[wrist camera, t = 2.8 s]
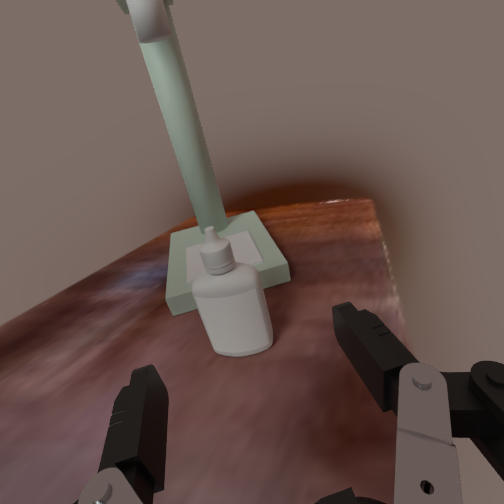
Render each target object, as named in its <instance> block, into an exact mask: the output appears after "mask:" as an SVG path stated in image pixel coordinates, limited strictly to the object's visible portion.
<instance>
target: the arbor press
mask: <svg viewBox="0 0 504 504" xmlns="http://www.w3.org/2000/svg"><path fill="white" fill-rule="evenodd" d="M116 1H117V2H118V4H119V6H120V7H121V9H122V10H123V12H124V13H125V14H130V17H131V19H132V23H133V26H134V29H135V32H136V35H137V38H138V41H139V44H140V47H141V50H142V53H143V56H144V59H145V63H146V65H147V69H148V72H149V75H150V78H151V81H152V84H153V87H154V90H155V92H156V96H157V99H158V102H159V105H160V108H161V111H162V115H163V117H164V121H165V124H166V127H167V129H168V133H169V136H170V139H171V142H172V145H173V148H174V151H175V154H176V157H177V160H178V163H179V166H180V169H181V172H182V176H183V179H184V182H185V185H186V188H187V191H188V194H189V197H190V200H191V203H192V206H193V209H194V212H195V215H196V218H197V222H198V225H199V226H196V227H193V228H189V229H185V230H182V231H178V232H175V233H171V240H170V252H169V263H168V274H167V286H166V297H165V300H166V302H167V304H168V306H169V308H170V311H171V313H172V315H173V316H176V315H179V314H182V313H186V312H189V311H192V310H196V309H198V308H197V306H196V303H195V300H194V297H193V294H192V284H193V281H194V279H195V277H196V276H197V274H198V273H200V272H201V271H203V270H205V267H204V264H203V261H202V258H201V255H200V252H199V247H200V246H201V244H202V243H204V242H205V231H204V229H205V228H207V227H209V226H213V227H214V229H215V231H216V233H217V234H218V236H219V237H224V238H227V239H228V240H229V241H230V244H231V248H232V251H233V255H234V258H235V262H240V263H245V264H248V265H251V266H253V267H255V268H256V269H257V270H258V272H259V275H260V278H261V282H262V286H263V289H265V288H268V287H272V286H275V285H278V284H282V283H285V282H288V281H291V278H290V272H289V266H288V262H287V261H286V259H285V258H284V256H283V255H282V253H281V252H280V250H279V248H278V247H277V245H276V244H275V242H274V241H273V239H272V238H271V236H270V235H269V233H268V232H267V230H266V229H265V227H264V225H263V224H262V222H261V221H260V219H259V218H258V216H257V215H256V213H255V212H254V211H250V212H247V213H243V214H240V215H236V216H232V217H229V218H226V215H225V211H224V207H223V204H222V200H221V196H220V193H219V189H218V185H217V182H216V178H215V174H214V171H213V167H212V164H211V160H210V156H209V153H208V149H207V145H206V141H205V138H204V134H203V130H202V126H201V123H200V120H199V116H198V112H197V108H196V105H195V101H194V97H193V93H192V90H191V86H190V82H189V79H188V75H187V71H186V68H185V64H184V60H183V56H182V53H181V49H180V45H179V42H178V38H177V34H176V31H175V27H174V23H173V19H172V16H171V12H170V8H169V5H173V0H116Z"/></svg>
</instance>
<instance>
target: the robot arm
mask: <svg viewBox="0 0 504 504" xmlns="http://www.w3.org/2000/svg"><path fill="white" fill-rule="evenodd" d="M332 313H333V322H334V331H335V336H336V338H337V341H338V343H339V345H340V346H341V348H342V350H343V351H344V353H345V354H346V356H347V357H348V359H349V360H350V362H351V363H352V365H353V367H354V368H355V370H356V371H357V373H358V374H359V376H360V377H361V379H362V380H363V382H364V383H365V385H366V387H367V388H368V390H369V391H370V393H371V394H372V396H373V397H374V399H375V400H376V402H377V403H378V405H379V407H380V408H381V410H382V411H383V412H386V411H389V410H393V412H394V413H395V415H396V416H397V440H396V462H395V485H394V504H463V502H462V493H461V483H460V474H459V465H458V456H457V450H456V447H455V445H453V441H452V437H457V438H470V439H471V440H472V441H473V443H474V444H475V445H476V446H477V448H478V449H479V450H480V452H481V453H482V454H483V455H484V457H485V458H486V459H487V460H488V462H489V463H490V464H491V466H492V467H493V468H494V469H495V471H496V472H497V473H498V474H499V475H500V477H501V478H502V479H503V481H504V364H501V363H498V362H493V361H480V362H477V363H476V364H474V365H473V367H472V368H471V372H450V373H447V372H439V371H438V370H436V369H435V368H433V367H431V366H429V365H426V364H423V363H420V362H419V361H418V360H417V359H416V358H415V357H414V356H413V355H412V354H411V353H410V352H409V351H408V349H407V348H406V347H405V346H404V345H403V344H402V343H401V342H400V341H399V340H398V339H397V337H396V336H395V335H394V334H393V333H391V331H390V330H389V329H388V328H387V327H386V326H385V325H384V323H383V322H382V321H381V320H380V319H379V318H378V317H377V316H376V315H375V314H373V313H371V312H369V311H367V310H365V309H364V310H361V311H358V310H357V309H356V308H355V307H354V306H353V305H352V303H350V302H346V303H343V304H339V305H336V306H333V307H332ZM168 405H169V399H168V392H167V389H166V386H165V385H164V383H163V381H162V379H161V378H160V376H159V374H158V372H157V371H156V369H155V367H154V366H153V365H152V364H151V365H148V366H145V367H142V368H138V369H135V370H133V372H132V375H131V380H130V385H128V386H125V387H123V388H122V389H121V391H120V393H119V394H118V396H117V398H116V399H115V402H114V406H113V411H112V416H111V419H110V423H109V425H110V427H109V428H108V432H107V436H106V440H105V445H104V449H103V453H102V457H101V462H100V466H99V470H98V473H97V474H96V475H95V476H94V477H93V478H92V479H91V480H90V481H89V482H88V484H87V485H86V486H85V488H84V490H83V491H82V493H81V496H80V498H79V500H77V501H76V502H75V503H74V504H153V494H154V493H156V492H159V491H162V490H164V481H165V462H166V443H167V424H168ZM315 504H386V503H383V502H381V501H379V500H375V499H371V498H366V497H355V495H354V493H353V490H352V488H351V487H350V488H348V489H345V490H342V491H340V492H337V493H335V494H332V495H329V496H327V497H324V498H321V499H320V500H319V501H317V502H316V503H315Z"/></svg>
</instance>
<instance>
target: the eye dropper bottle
mask: <svg viewBox="0 0 504 504" xmlns="http://www.w3.org/2000/svg"><path fill="white" fill-rule="evenodd" d="M204 231H205V242H204V243H202V244H201V246H200V247H199V252H200V255H201V258H202V261H203V264H204V267H205V270H203V271H201V272H200V273H198V274H197V276H196V277H195V279H194V281H193V284H192V294H193V297H194V300H195V303H196V306H197V308H198V311H199V313H200V316H201V319H202V321H203V324H204V326H205V329H206V332H207V334H208V337H209V339H210V342H211V344H212V347H213V349H214V351H215V352H216V353H218V354H221V355H225V356H233V357H240V356H248V355H253V354H256V353H259V352H262V351H264V350H266V349H268V348H270V347H271V346H272V343H273V329H272V324H271V320H270V316H269V311H268V307H267V303H266V299H265V295H264V290H263V286H262V282H261V278H260V275H259V272H258V270H257V269H256V268H255V267H253V266H251V265H248V264H245V263H240V262H235V258H234V255H233V251H232V248H231V244H230V241H229V240H228V239H227V238H224V237H219V236H218V234H217V233H216V231H215V229H214V227H213V226H209V227H207V228H205V229H204Z"/></svg>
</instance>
